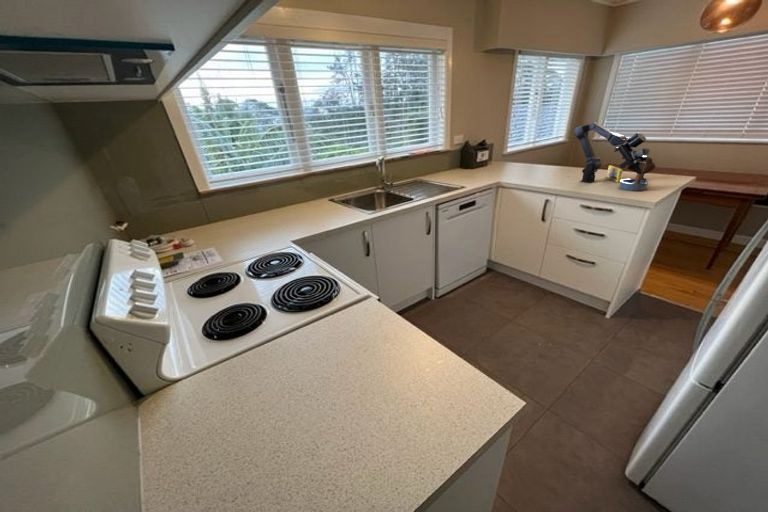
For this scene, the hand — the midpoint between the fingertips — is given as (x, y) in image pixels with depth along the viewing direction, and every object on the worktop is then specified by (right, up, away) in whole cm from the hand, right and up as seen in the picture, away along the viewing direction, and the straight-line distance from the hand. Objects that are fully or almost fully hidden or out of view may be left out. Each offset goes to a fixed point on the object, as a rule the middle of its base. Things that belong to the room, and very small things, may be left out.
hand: (642, 173), depth 177 cm
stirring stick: (0, -5, +4) cm, 7 cm away
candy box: (+4, +3, +28) cm, 29 cm away
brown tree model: (+18, +2, +22) cm, 29 cm away
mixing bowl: (-1, -8, +6) cm, 10 cm away
